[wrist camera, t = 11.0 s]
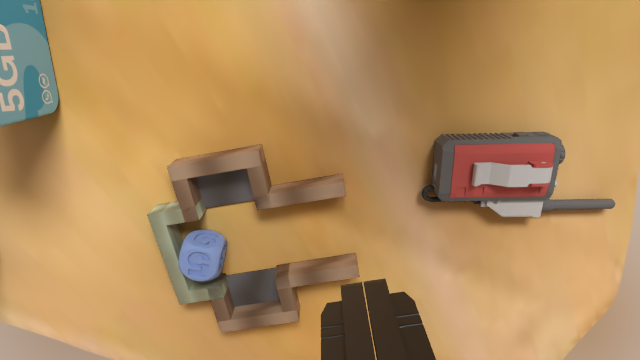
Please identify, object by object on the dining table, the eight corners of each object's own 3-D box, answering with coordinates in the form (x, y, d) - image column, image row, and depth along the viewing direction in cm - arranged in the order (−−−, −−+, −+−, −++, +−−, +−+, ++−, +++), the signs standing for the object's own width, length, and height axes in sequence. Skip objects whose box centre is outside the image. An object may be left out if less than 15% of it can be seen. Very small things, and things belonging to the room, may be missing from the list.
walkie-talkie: (417, 211, 42) (602, 208, 41) (428, 230, 37) (634, 226, 37) (423, 131, 39) (622, 127, 38) (435, 142, 34) (658, 137, 34)
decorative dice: (189, 257, 43) (176, 278, 39) (192, 226, 42) (179, 244, 38) (224, 263, 43) (215, 284, 40) (228, 232, 42) (219, 251, 38)
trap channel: (335, 131, 38) (336, 137, 36) (363, 297, 45) (365, 311, 42) (143, 165, 39) (132, 172, 37) (197, 322, 46) (191, 337, 44)
